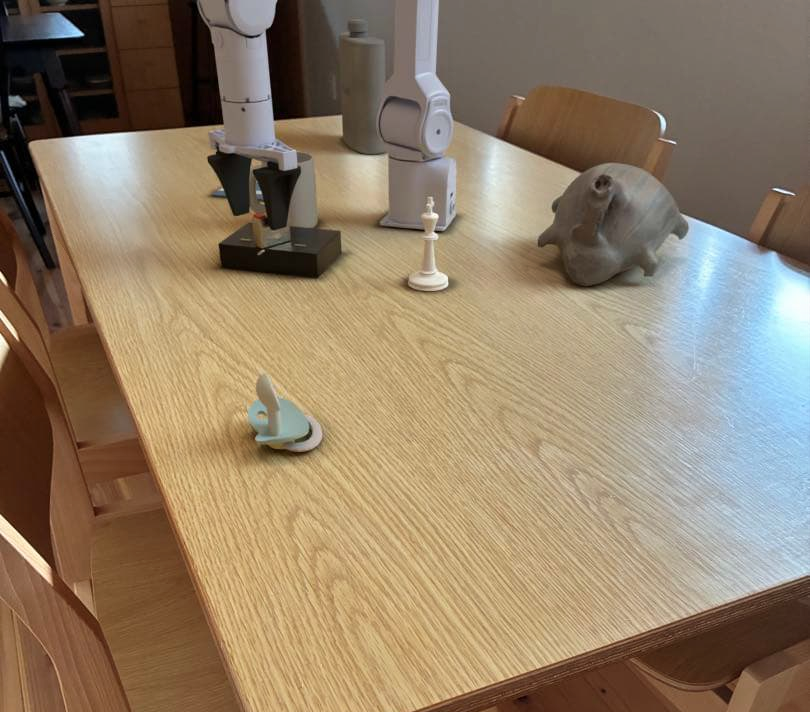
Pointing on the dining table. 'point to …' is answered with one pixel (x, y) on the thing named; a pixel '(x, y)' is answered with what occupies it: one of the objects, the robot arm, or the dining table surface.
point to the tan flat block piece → (268, 232)
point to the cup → (294, 194)
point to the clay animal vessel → (612, 223)
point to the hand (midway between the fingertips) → (259, 221)
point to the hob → (282, 252)
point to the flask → (361, 86)
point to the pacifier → (281, 420)
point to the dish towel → (222, 194)
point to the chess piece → (428, 257)
